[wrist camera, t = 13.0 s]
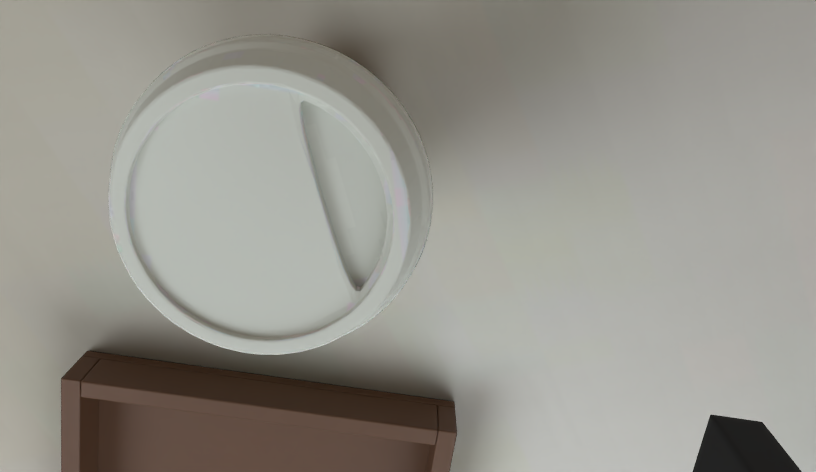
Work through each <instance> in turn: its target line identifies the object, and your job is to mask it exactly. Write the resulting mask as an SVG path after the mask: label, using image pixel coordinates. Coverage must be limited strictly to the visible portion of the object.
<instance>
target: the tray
mask: <svg viewBox="0 0 816 472" xmlns="http://www.w3.org/2000/svg"><path fill="white" fill-rule="evenodd" d="M456 436H457V428H456V416H455V403H454V402H453V401H446V400H438V399H431V398H424V397H417V396H410V395H402V394H395V393H388V392H381V391H373V390H366V389H359V388H352V387H345V386H337V385H330V384H323V383H316V382H309V381H301V380H294V379H287V378H280V377H272V376H265V375H258V374H251V373H244V372H236V371H229V370H222V369H215V368H208V367H200V366H193V365H186V364H179V363H171V362H164V361H157V360H150V359H143V358H135V357H128V356H121V355H114V354H106V353H99V352H92V351H86V353H85V354H84V355H83V356H82V357H81V358H80V359H79V360H78V361H77V362H76V363H75V364H74V365H73V367H72V368H71V369H70V370H69V371H68V372H67V373H66V374H65V375H64V376H63V377H62V379H61V472H449V471H450V466H451V461H452V456H453V451H454V446H455V441H456Z"/></svg>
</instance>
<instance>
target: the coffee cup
mask: <svg viewBox="0 0 816 472" xmlns="http://www.w3.org/2000/svg"><path fill="white" fill-rule="evenodd" d="M108 209H109V217H110V225H111V229H112V233H113V238H114V241H115V244H116V247H117V249H118V252H119V255H120V258H121V260H122V262H123V264H124V266H125V268H126V270H127V272H128V273H129V275H130V276H131V278H132V280H133V281H134V283H135V285H136V286H137V287H138V288H139V290H140V291H141V292H142V293H143V295H144V296H145V297H146V298H147V300H148V301H149V302H150V303H151V304H152V305H153V306H154V307H155V308H156V309H157V310H158V311H159V312H161V313H162V314H163V315H164V316H165V317H166V318H167V319H169V320H170V321H172V322H173V323H174V324H176V325H177V326H178V327H180V328H182V329H183V330H185V331H186V332H188V333H190V334H191V335H193V336H195V337H198V338H200V339H202V340H204V341H206V342H208V343H211V344H214V345H216V346H219V347H222V348H226V349H230V350H234V351H238V352H242V353H251V354H259V355H281V354H289V353H297V352H302V351H306V350H310V349H314V348H317V347H320V346H322V345H325V344H328V343H331V342H333V341H334V340H336V339H338V338H340V337H342V336H344V335H346V334H348V333H350V332H352V331H354V330H356V329H357V328H359V327H361V326H362V325H364V324H365V323H367V322H368V321H370V320H371V319H373V318H374V317H375V316H376V315H378V314H379V313H380V312H381V311H382V310H383V309H384V308H385V307H386V306H387V305H388V304H389V303H390V302H391V301H392V300H393V299H394V298H395V297H396V295H397V294H398V293H399V292H400V291H401V289H402V288H403V286H404V285H405V283H406V282H407V280H408V279H409V277H410V275H411V274H412V272H413V270H414V268H415V267H416V265H417V263H418V261H419V259H420V257H421V254H422V252H423V249H424V247H425V244H426V241H427V237H428V234H429V229H430V225H431V218H432V209H433V186H432V177H431V171H430V166H429V161H428V158H427V154H426V151H425V148H424V145H423V142H422V140H421V138H420V135H419V133H418V131H417V129H416V127H415V125H414V123H413V121H412V120H411V118H410V116H409V115H408V113H407V111H406V110H405V108H404V107H403V106H402V104H401V103H400V102H399V100H398V99H397V98H396V97H395V95H394V94H393V93H392V92H391V91H390V90H389V89H388V88H387V87H386V86H385V85H384V84H383V83H382V82H381V81H380V80H379V79H378V78H377V77H376V76H375V75H374V74H372V73H371V72H370V71H369V70H367V69H366V68H364V67H363V66H362V65H360V64H359V63H357V62H356V61H354V60H353V59H351V58H349V57H347V56H346V55H344V54H342V53H340V52H338V51H336V50H334V49H331V48H329V47H326V46H324V45H321V44H318V43H315V42H312V41H308V40H305V39H300V38H295V37H290V36H282V35H246V36H239V37H233V38H229V39H224V40H221V41H217V42H214V43H211V44H209V45H206V46H204V47H201V48H199V49H197V50H195V51H193V52H191V53H189V54H187V55H186V56H184V57H182V58H181V59H179V60H178V61H176V62H175V63H173V64H172V65H171V66H169V67H168V68H167V69H166V70H165V71H163V72H162V73H161V74H160V75H159V76H158V77H157V78H156V79H155V80H154V81H153V82H152V83H151V84H150V86H149V87H148V88H147V89H146V90H145V91H144V93H143V94H142V95H141V96H140V98H139V99H138V100H137V102H136V103H135V104H134V106H133V107H132V109H131V111H130V113H129V114H128V116H127V118H126V120H125V122H124V124H123V126H122V128H121V131H120V133H119V135H118V138H117V142H116V145H115V148H114V152H113V157H112V163H111V171H110V182H109V199H108Z"/></svg>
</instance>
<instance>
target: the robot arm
mask: <svg viewBox="0 0 816 472" xmlns="http://www.w3.org/2000/svg"><path fill="white" fill-rule="evenodd" d="M693 472H801V470H800V469H799V468H798V467H797V465H796V464H795V463H794V461H793V460H792V459H791V458H790V456H789V455H788V454H787V453H786V451H785V450H784V449H783V448H782V446H781V445H780V444H779V443H778V441H777V440H776V439H775V438H774V436H773V435H772V434H771V433H770V431H769V430H768V429H767V428H766V426H765V425H764V424H763V423H762V422H758V421H751V420H744V419H737V418H730V417H723V416H717V415H710V418H709V421H708V424H707V428H706V431H705V434H704V437H703V440H702V444H701V447H700V450H699V453H698V456H697V460H696V463H695V466H694V469H693Z"/></svg>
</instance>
